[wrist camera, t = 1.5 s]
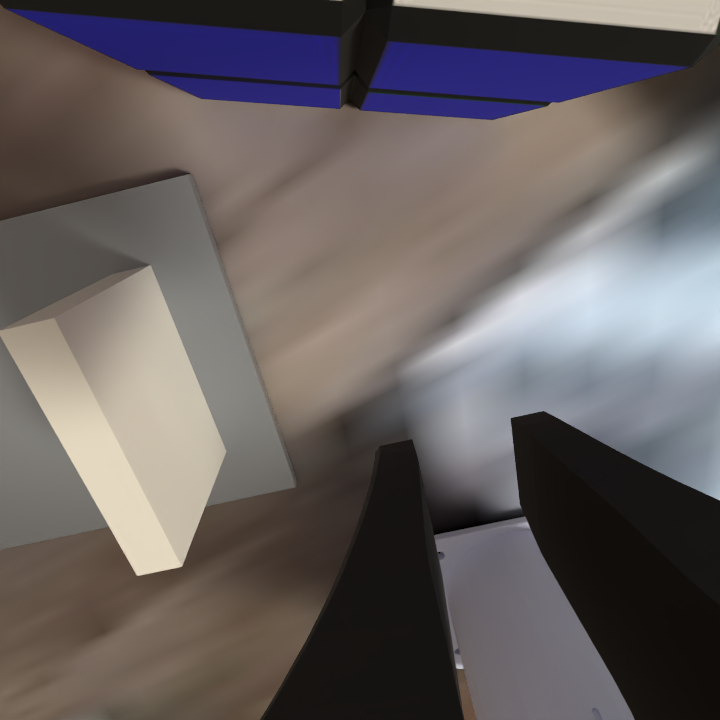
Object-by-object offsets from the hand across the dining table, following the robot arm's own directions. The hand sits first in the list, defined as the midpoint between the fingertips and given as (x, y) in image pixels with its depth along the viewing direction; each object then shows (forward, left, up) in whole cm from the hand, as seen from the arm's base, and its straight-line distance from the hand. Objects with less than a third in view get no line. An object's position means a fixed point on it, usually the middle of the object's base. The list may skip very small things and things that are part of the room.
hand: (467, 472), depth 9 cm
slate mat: (0, +13, -10) cm, 16 cm away
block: (0, +9, -9) cm, 13 cm away
